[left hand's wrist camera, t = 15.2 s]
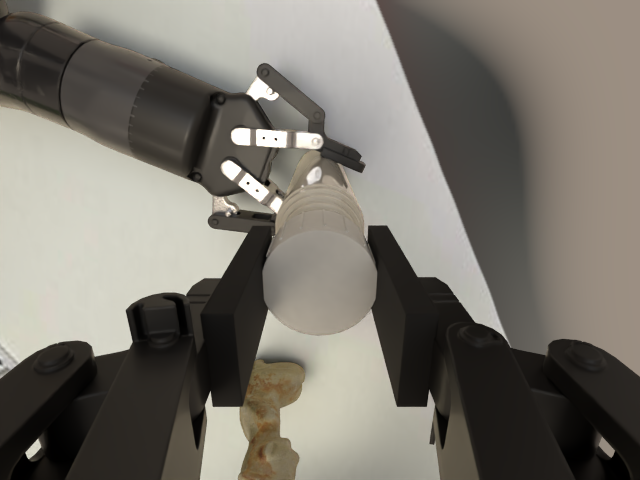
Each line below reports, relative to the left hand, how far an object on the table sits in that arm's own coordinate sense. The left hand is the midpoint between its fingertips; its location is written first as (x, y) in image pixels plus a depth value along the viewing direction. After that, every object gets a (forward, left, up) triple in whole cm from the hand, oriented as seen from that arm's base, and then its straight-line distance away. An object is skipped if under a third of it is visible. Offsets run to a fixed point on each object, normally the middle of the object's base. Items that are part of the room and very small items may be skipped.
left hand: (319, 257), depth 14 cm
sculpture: (-19, +17, -22) cm, 34 cm away
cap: (0, 0, +2) cm, 2 cm away
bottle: (0, 0, -22) cm, 22 cm away
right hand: (-2, -2, -16) cm, 16 cm away
